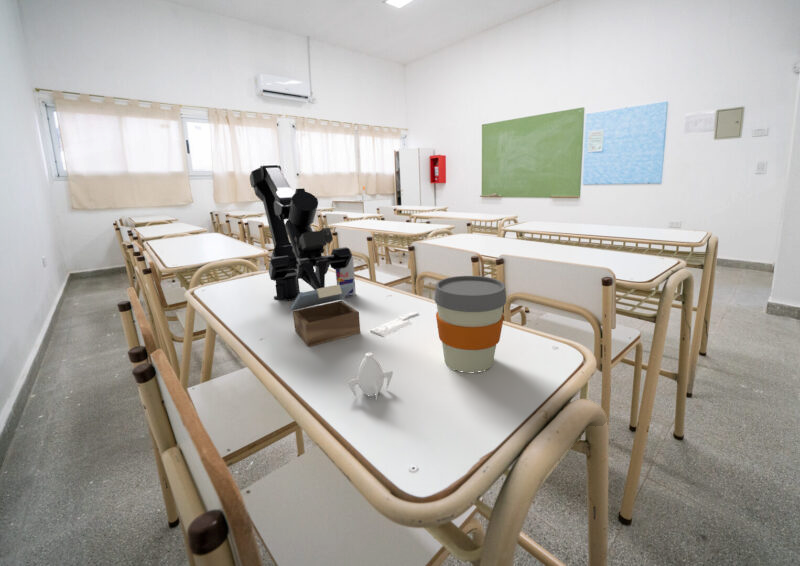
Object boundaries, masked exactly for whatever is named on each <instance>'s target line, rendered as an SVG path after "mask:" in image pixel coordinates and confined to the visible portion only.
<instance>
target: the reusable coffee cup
mask: <svg viewBox="0 0 800 566" xmlns="http://www.w3.org/2000/svg"><path fill="white" fill-rule="evenodd" d="M434 290H435V292H434V302H435V304H436V309H437V312H436V313H435V318H436V326H437V331H438V333H437V334H438V339H439V340H440V342H441V344H442V352H443V357H444V364H445V365H446V367H448V366H449V367H450V368H449V367H448V368H449V369H451V368H452V369H451V370H453V369H455V370H458V371H463V372H478V371H484V370H486V369H489V368H490V367H491V366H492V367H493V365H494V359H495V354H496V348H497V344H499V342H500V340H501V335H502V330H503V323H504V319H505V316H504V314H503V311H504V306H505V304H506V303H507V296H506V295H507V294H506V285H505V283H504V282H502V281H501V280H499V279H496V278H492V277H488V276H481V275H459V276H458V275H457V276H451V277H446V278H443V279H440V280H439V281H437V282H436V284H435V289H434ZM492 367H491V368H492ZM491 368H490V369H491ZM490 369H489V370H490ZM455 370H454V371H455ZM458 371H457V372H458ZM484 372H485V371H484Z"/></svg>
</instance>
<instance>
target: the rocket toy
mask: <svg viewBox="0 0 800 566" xmlns="http://www.w3.org/2000/svg"><path fill="white" fill-rule="evenodd" d="M364 356H365V357H364V358H363V359H362V360H361V363H360V365H359V367H358V371H357V377H356V378H353V379H350V380H348V381H347V385H348V387H349V388H350V391H351V392H352V393H353V395H354V396H355V397H357V394H356V390H355V385H358V387H359V389H360V392H362V393H363V394H364V395H366V396H367V395H369V396H373V395H375V394H376V396H375V401H376V402H377V400H378V396H379V395H378V394H379V393H380V392H381V391H382V389H383V386H384V379H386V378H387V380H386V381H387V382H386V387H385V388H386V389H387V390H388V388H389V386H390V383H391V381H392V377H393V374H394V373H393V372H394V371H392V370H389V371H388V370H387V371H383V368H382V367H381V365H380V363H379V361H378V360H377V358H376V357H375V356H374V353H372V352H370V350H369V349H368V352H366V353H365V354H364ZM369 396H368V397H369ZM373 397H374V396H373Z"/></svg>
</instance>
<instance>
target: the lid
mask: <svg viewBox="0 0 800 566" xmlns="http://www.w3.org/2000/svg"><path fill="white" fill-rule="evenodd" d="M354 286H355V287H356V283H355V284H354V283H349V284H344V285H337V284H335V285H330V286H325V287H324V288H319V289H316V290H314V289H313V290H309V291H304V292H303V293H299V294H298V296H297V298H295V299H294V301H293V303H292V305H291V306H290V308H291V311H295V310H300V309H304V308H309V307H314V306H318V305H323V304H327V303H332V302H337V301H343V299H344V297H345V296H346V295H347V294H348V293H349V292H350V291H351V290H352V289H353V288H354Z"/></svg>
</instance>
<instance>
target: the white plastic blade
mask: <svg viewBox="0 0 800 566" xmlns="http://www.w3.org/2000/svg"><path fill="white" fill-rule="evenodd" d="M418 314H419V315H420V313H419V312H417V311H412V312H410V313H407V314H405V315H402V316H401V317H398V318H396V319H393V320H391V321H389V322H386V323H384V324H381V325H379V326H377V327H374V328H372V329H370V333H373V334H375V335H378V336H381V337H382V338H385V337H388V336H390V335H392V334H393V333H392V332H394V331H396V332H398V331H397V330H398V329H400V328H403V329H405V328H406V326H407V327H409V326H412V325H413V324H412V323H413V322H411V321H409V319H410V317H411V318H413V317H416V316H419V315H418ZM408 325H409V326H408ZM404 327H405V328H404ZM391 333H392V334H391ZM394 333H395V332H394ZM389 334H390V335H389ZM387 335H388V336H387Z"/></svg>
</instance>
